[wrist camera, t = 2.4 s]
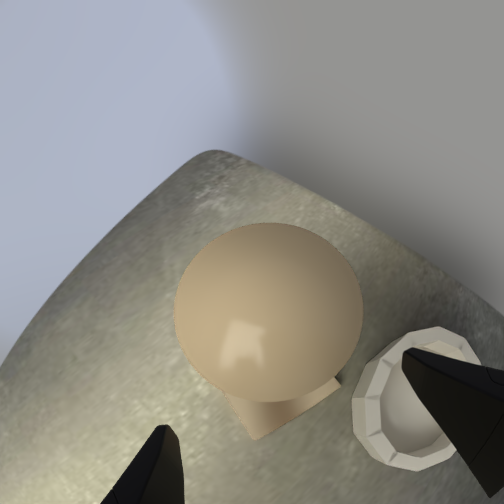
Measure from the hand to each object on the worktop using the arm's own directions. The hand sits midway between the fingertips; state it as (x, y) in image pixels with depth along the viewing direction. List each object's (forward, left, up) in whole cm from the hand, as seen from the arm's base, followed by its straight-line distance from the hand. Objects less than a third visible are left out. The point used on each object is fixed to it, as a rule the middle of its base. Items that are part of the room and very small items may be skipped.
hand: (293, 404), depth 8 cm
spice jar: (+1, +3, -9) cm, 10 cm away
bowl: (+8, -7, -10) cm, 14 cm away
